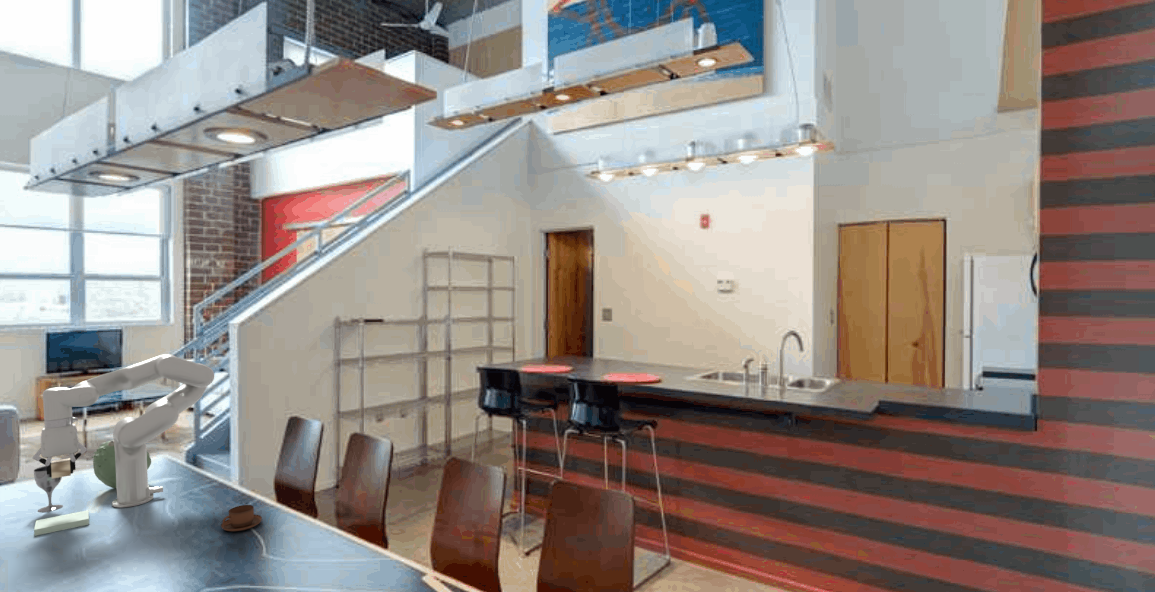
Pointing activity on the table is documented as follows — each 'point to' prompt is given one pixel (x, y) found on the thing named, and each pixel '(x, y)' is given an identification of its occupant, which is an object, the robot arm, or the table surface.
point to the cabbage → (108, 463)
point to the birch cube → (60, 468)
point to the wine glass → (46, 486)
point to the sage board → (61, 522)
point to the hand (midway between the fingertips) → (61, 473)
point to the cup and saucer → (241, 518)
